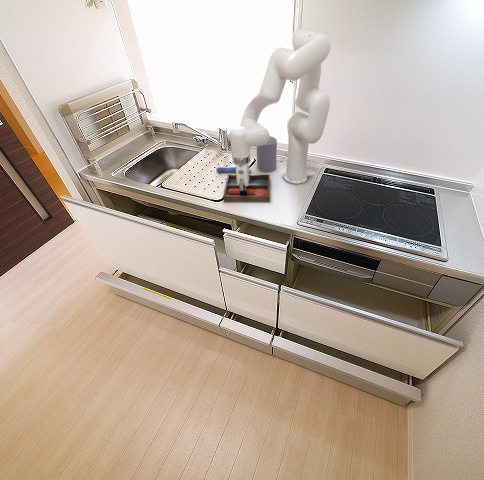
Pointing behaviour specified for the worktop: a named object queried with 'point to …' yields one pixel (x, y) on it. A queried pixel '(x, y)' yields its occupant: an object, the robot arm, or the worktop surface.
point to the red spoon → (249, 192)
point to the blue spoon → (227, 170)
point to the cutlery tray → (254, 183)
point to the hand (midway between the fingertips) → (243, 193)
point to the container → (267, 155)
